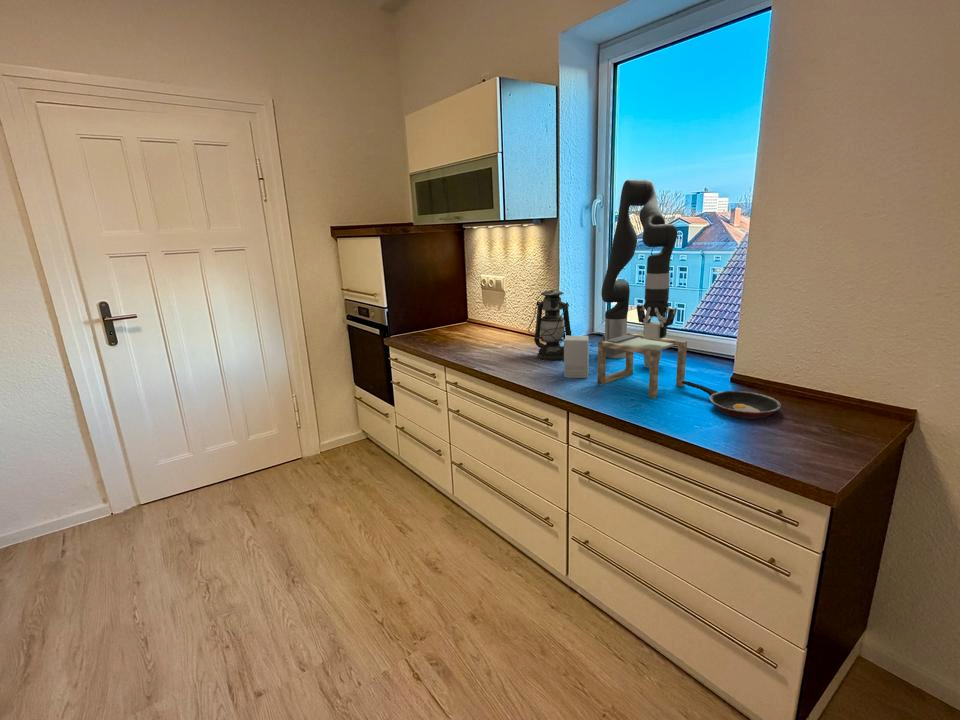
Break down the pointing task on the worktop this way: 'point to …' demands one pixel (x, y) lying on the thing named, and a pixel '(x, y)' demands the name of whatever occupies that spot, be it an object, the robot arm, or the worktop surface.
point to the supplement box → (576, 357)
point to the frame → (629, 362)
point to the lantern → (551, 326)
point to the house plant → (647, 357)
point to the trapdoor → (636, 344)
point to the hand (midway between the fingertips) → (654, 336)
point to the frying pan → (740, 402)
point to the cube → (652, 330)
